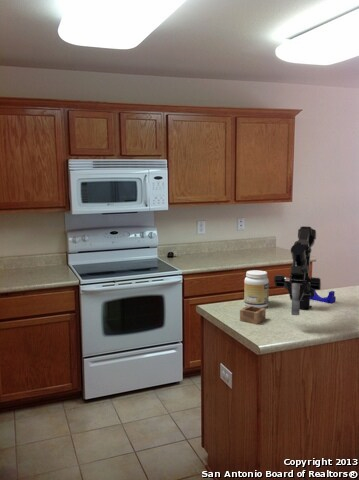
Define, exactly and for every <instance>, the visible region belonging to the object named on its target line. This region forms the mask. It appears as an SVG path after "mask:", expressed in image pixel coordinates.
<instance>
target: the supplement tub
mask: <svg viewBox="0 0 359 480" xmlns="http://www.w3.org/2000/svg"><path fill="white" fill-rule="evenodd" d="M245 276H246V277H244V290H243V291H244V292H243V293H244V298H243V299H244V301H243V303H244V305H245V307H247V306H255V307H260V308H266V307H268V305H269V302H270V301H269V295H270V293H269V292H270V280H269V278H268V272H267V271H264V270H259V269H258V270H256V269H255V270H254V269H253V270H247V271H246V274H245Z"/></svg>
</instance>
